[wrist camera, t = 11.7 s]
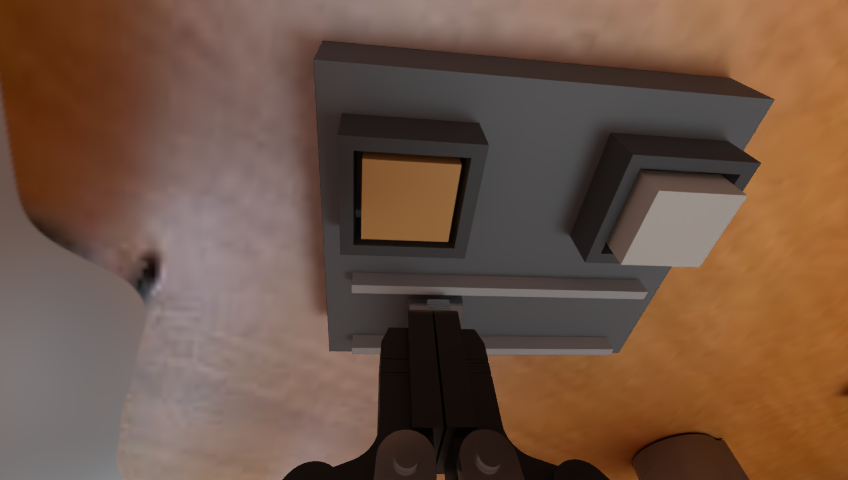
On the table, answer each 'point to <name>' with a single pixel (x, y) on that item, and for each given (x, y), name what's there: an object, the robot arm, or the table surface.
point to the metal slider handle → (436, 302)
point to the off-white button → (673, 218)
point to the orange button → (408, 196)
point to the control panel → (512, 187)
